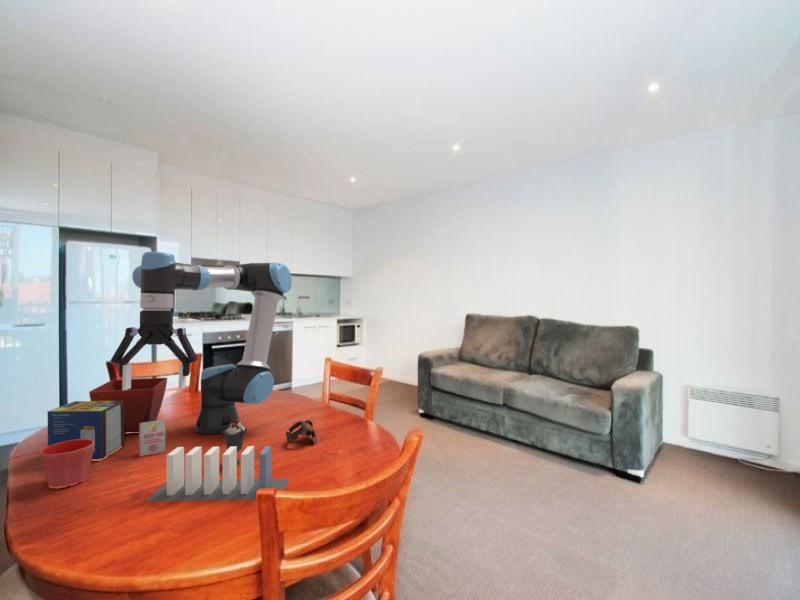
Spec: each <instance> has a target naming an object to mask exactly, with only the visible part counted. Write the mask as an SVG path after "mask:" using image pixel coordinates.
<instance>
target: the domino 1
mask: <svg viewBox="0 0 800 600" xmlns="http://www.w3.org/2000/svg"><path fill="white" fill-rule="evenodd" d="M184 480H185V447H184V446H177V447H176V448H175V449H173V450H172V451H170V452H169V453H167V454H166V482H167V495H174V494H175V493H176V492H177V491H178V490H179V489H180V488H181V487H182V486H183V485H184Z"/></svg>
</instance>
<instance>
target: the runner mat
mask: <svg viewBox="0 0 800 600" xmlns="http://www.w3.org/2000/svg"><path fill="white" fill-rule="evenodd" d="M289 481H290V478H271V485H270V487H269V488H278V489H284V491H285V489H286V487H287V485H288V483H289ZM258 489H259V478H254V485H253V486H252V488H251V489H250V491H249V492H248V494H241V478H240V479H238V478H237V484H236V486H235V487H234V488H233V490H232V491H231V492H230V494H222V479H219V485H218V486H217V488H216V489H215V490H214V491H213V492H212V493H211V495H204V479H202V485H201V486H200V487H199V488H198V489H197V490H196V491H195V492H194V493H193V494H192V495H185V479H184V485H183V486H182V487H181V488H180V489H179V490H178V491H177V492H176V493H175V494H174V495H167V481H166V482H165V483H163V485H162V486H161V487H159V489H157V490H156V491H155V492H153V494H151V495H150V496H149V497H148V498H146V500H145V501H144V502H183V501H185V502H187V501H189V502H192V501H202V502H203V501H241V500H242V501H246V500H247V501H250V500H252V501H253V500H256V491H257V490H258ZM256 501H257V500H256Z"/></svg>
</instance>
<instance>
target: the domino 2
mask: <svg viewBox="0 0 800 600" xmlns="http://www.w3.org/2000/svg"><path fill="white" fill-rule="evenodd" d="M202 448H203V446H195V447H193V448H192V449H191V450H189V452H187V453H186V454H184V480H185V495H192V494H193V493H194V492H195V491H196V490H197V489H198V488H199V487H200V486H201V485H202V480H203V478H202V476H203V475H202V473H203V472H202V470H203V468H202V467H203V466H202V463H203V462H202V461H203V457H202V453H203V450H202Z"/></svg>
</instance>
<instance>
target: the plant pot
mask: <svg viewBox="0 0 800 600" xmlns="http://www.w3.org/2000/svg"><path fill="white" fill-rule="evenodd" d="M167 382H168V377H149V378H131V388H130V389H127V390H122V379H111V380H109V381H107V382H105V383H103V384H102V385H100V386H97V387H95V388H93V389H92V390H89V393H88V394H89V399H90V400H89V401H123V412H124V433H126V432H139V423H144V422H151V421H157V419H158V417H159V413H160V411H161V408H162V404H163V402H164V397H165V394H166V388H167V384H168V383H167Z"/></svg>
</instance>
